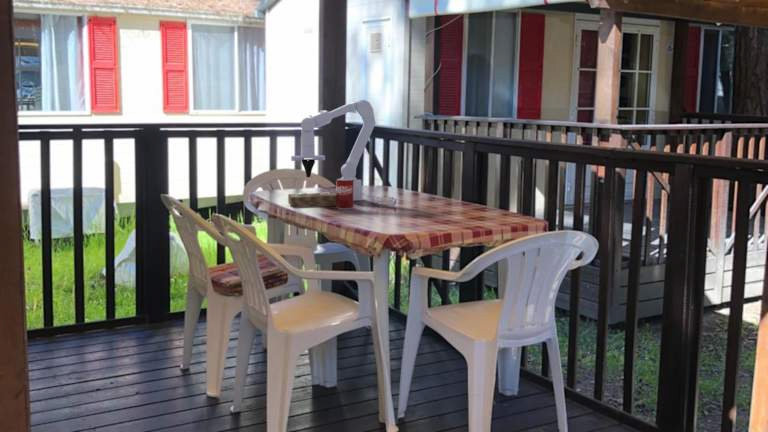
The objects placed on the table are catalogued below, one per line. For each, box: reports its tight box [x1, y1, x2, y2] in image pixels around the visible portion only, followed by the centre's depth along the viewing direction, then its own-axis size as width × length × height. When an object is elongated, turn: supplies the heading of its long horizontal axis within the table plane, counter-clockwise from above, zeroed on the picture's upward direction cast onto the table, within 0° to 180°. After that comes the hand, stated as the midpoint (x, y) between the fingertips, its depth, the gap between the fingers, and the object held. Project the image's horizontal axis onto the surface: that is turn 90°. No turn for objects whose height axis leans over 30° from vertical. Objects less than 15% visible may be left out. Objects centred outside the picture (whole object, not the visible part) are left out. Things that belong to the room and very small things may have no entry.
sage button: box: [296, 192, 308, 196], centre depth 347 cm, size 4×4×4 cm
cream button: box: [319, 191, 331, 196], centre depth 350 cm, size 4×4×4 cm
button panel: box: [287, 192, 336, 208], centre depth 349 cm, size 20×10×4 cm, turn 104°
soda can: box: [335, 177, 355, 210], centre depth 338 cm, size 7×7×12 cm
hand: (308, 177), depth 360 cm, fingers closed
